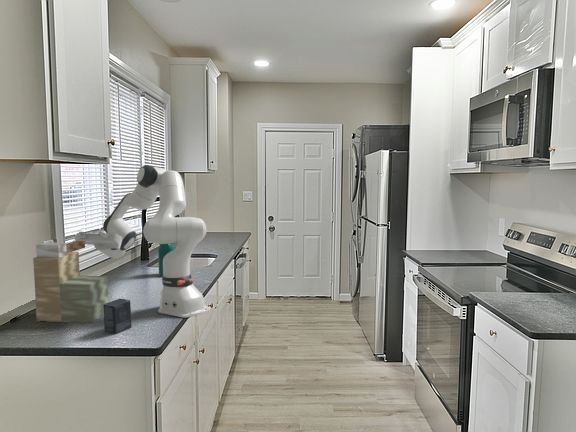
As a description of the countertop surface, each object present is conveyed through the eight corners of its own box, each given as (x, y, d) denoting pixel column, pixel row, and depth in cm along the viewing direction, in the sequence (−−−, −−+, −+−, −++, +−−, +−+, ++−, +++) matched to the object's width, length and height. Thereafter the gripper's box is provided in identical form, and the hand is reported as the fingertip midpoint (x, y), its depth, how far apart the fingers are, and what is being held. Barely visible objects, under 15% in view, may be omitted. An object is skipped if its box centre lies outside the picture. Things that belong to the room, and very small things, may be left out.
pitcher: (162, 273, 247) (161, 235, 245) (177, 273, 247) (176, 236, 245) (157, 277, 238) (155, 238, 236) (172, 277, 237) (171, 238, 235)
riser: (58, 310, 180) (55, 251, 177) (108, 311, 178) (106, 252, 176) (36, 321, 166) (33, 258, 163) (91, 322, 164) (88, 258, 162)
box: (120, 325, 161) (119, 298, 160) (131, 327, 159) (131, 299, 158) (104, 332, 154) (102, 303, 153) (115, 334, 152) (114, 305, 151)
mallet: (71, 247, 188) (70, 236, 187) (90, 247, 187) (90, 236, 186) (36, 257, 165) (36, 244, 164) (59, 257, 164) (58, 244, 164)
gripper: (85, 236, 209) (69, 226, 196) (125, 237, 208) (112, 227, 195) (82, 248, 207) (66, 239, 194) (122, 249, 205) (110, 240, 193)
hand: (90, 233), depth 195 cm, fingers open, 8 cm apart
